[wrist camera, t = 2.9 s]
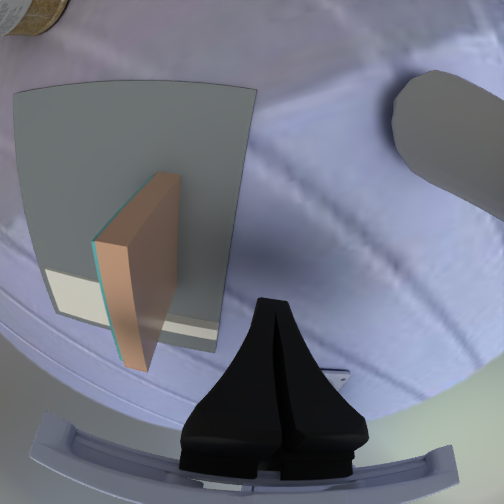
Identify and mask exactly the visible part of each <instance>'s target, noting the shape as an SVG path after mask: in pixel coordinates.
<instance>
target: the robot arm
mask: <svg viewBox="0 0 504 504" xmlns="http://www.w3.org/2000/svg"><path fill="white" fill-rule="evenodd" d="M349 377H350V372H347V371H327V370H321V369H320V368H319V366H318V365H317V363H316V361H315V360H314V358H313V356H312V355H311V353H310V351H309V349H308V347H307V345H306V343H305V341H304V339H303V337H302V335H301V333H300V331H299V329H298V327H297V324H296V322H295V319H294V317H293V314H292V312H291V309H290V306H289V303H288V302H287V301H282V300H275V299H269V298H262V297H260V298H258V299H257V303H256V307H255V311H254V315H253V318H252V322H251V327H250V329H249V332H248V334H247V336H246V338H245V340H244V342H243V344H242V346H241V348H240V349H239V351H238V353H237V355H236V356H235V358H234V359H233V361H232V363H231V364H230V365H229V367H228V368H227V370H226V371H225V373H224V374H223V375H222V377H221V378H220V379H219V381H218V382H217V383H216V384H215V385H214V387H213V388H212V389H211V390H210V391H209V393H208V394H207V395H206V396H205V397H204V398H203V399H202V400H201V401H200V402H199V403H198V404H197V405H196V407H195V409H194V410H193V412H192V413H191V415H190V416H189V418H188V419H187V421H186V423H185V425H184V427H183V429H182V434H181V440H180V443H181V449H182V451H181V456H180V460H177V459H172V458H167V457H163V456H159V455H155V454H151V453H147V452H144V451H140V450H136V449H133V448H130V447H126V446H122V445H120V444H116V443H114V442H111V441H108V440H105V439H102V438H99V437H97V436H94V435H91V434H89V433H86V432H84V431H81V430H79V429H77V428H76V427H75V426H74V425H73V424H72V423H71V422H69V421H68V420H66V419H63V418H61V417H59V416H57V415H55V414H53V413H51V412H48V411H45V412H44V414H43V417H42V420H41V422H40V425H39V427H38V430H37V433H36V435H35V438H34V441H33V444H32V447H31V450H30V453H29V457H30V458H31V459H33V460H35V461H36V462H38V463H40V464H42V465H43V466H45V467H47V468H49V469H51V470H53V471H55V472H57V473H59V474H61V475H63V476H65V477H67V478H69V479H71V480H74V481H76V482H78V483H80V484H83V485H85V486H87V487H90V488H92V489H95V490H97V491H100V492H103V493H105V494H108V495H111V496H114V497H117V498H120V499H123V500H126V501H129V502H133V503H136V504H405V503H408V502H412V501H415V500H418V499H421V498H424V497H427V496H430V495H432V494H435V493H438V492H441V491H443V490H446V489H448V488H450V487H453V486H455V485H457V484H459V477H458V471H457V466H456V461H455V457H454V452H453V447H452V445H447V446H444V447H441V448H437V449H435V450H432V451H431V452H428V453H427V454H426V455H423V456H419V457H415V458H411V459H406V460H402V461H396V462H391V463H386V464H380V465H373V466H366V467H358V468H356V467H355V466H354V465H352V460H353V459H354V457H355V455H354V451H355V450H356V449H358V448H360V447H361V446H363V445H364V444H365V443H366V442H367V441H368V439H369V435H368V429H367V425H366V421H365V418H364V417H363V416H362V415H360V414H359V413H358V412H357V411H356V410H355V409H354V408H353V407H352V406H350V405H349V403H348V402H347V401H346V400H345V399H344V398H343V397H342V396H341V395H340V394H339V393H338V391H339V390H340V388H341V387H342V386H343V385H344V384H345V382H346V381H347V380H348V379H349ZM188 478H190V479H188ZM192 479H196V480H203V481H209V482H217V483H224V484H235V485H242V488H241V491H227V490H216V489H206V488H203V483H202V482H200V481H196V480H192Z"/></svg>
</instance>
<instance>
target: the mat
mask: <svg viewBox="0 0 504 504" xmlns="http://www.w3.org/2000/svg"><path fill="white" fill-rule="evenodd" d="M256 92H257V90H254V89H248V88H241V87H234V86H226V85H217V84H207V83H196V82H181V81H155V80H128V81H103V82H89V83H78V84H69V85H61V86H54V87H47V88H41V89H35V90H30V91H24V92H20V93H15V94H13V122H14V140H15V152H16V161H17V170H18V177H19V184H20V190H21V195H22V201H23V206H24V211H25V216H26V220H27V224H28V229H29V233H30V237H31V240H32V244H33V248H34V251H35V255H36V258H37V261H38V265H39V268H40V271H41V274H42V277H43V280H44V283H45V286H46V289H47V291H48V294H49V297H50V299H51V302H52V305H53V307H54V310H55V312H56V313H57V314H60V315H62V316H65V317H69V318H72V319H75V320H78V321H81V322H84V323H88V324H91V325H94V326H98V327H101V328H105V329H108V330H111V328H110V326H107V325H104V324H100V323H97V322H93V321H90V320H87V319H83V318H80V317H77V316H74V315H70V314H67V313H64V312H61V311H59V308H58V306H57V303H56V301H55V298H54V295H53V292H52V290H51V287H50V284H49V281H48V278H47V275H46V272H45V268H46V267H49V268H53V269H56V270H60V271H64V272H68V273H72V274H76V275H80V276H84V277H88V278H92V279H96V280H98V275H97V270H96V265H95V260H94V254H93V249H92V243H91V241H92V240H93V239H94V237H95V236H96V235H97V234H98V233H99V232H100V230H101V229H102V228H103V227H104V226H105V225H106V224H107V222H108V221H109V220H110V219H111V218H112V217H113V216H114V215H115V214H116V213H117V211H118V210H119V209H120V208H121V207H122V206H123V205H124V204H125V203H126V202H127V201H128V200H129V199H130V198H131V197H132V196H133V195H134V194H135V192H136V191H137V190H138V189H139V188H140V187H141V186H142V185H143V184H144V183H145V182H146V181H147V180H148V179H149V178H150V177H151V176H155V175H156V174H157V173H158V172H163V173H172V174H179V175H181V183H180V199H179V219H178V248H177V288H176V291H175V294H174V296H173V299H172V302H171V305H170V307H169V310H168V313H170V314H175V315H180V316H186V317H191V318H196V319H202V320H207V321H213V322H219V321H220V314H221V307H222V300H223V293H224V286H225V279H226V272H227V265H228V258H229V252H230V245H231V239H232V232H233V226H234V219H235V213H236V207H237V201H238V195H239V188H240V182H241V176H242V170H243V165H244V159H245V153H246V147H247V141H248V136H249V130H250V124H251V119H252V113H253V108H254V102H255V97H256ZM218 328H219V327H218ZM217 336H218V334H217ZM158 342H160V343H165V344H170V345H174V346H179V347H184V348H189V349H195V350H200V351H206V352H211V353H215V351H216V343H217V340H211V339H206V338H200V337H195V336H189V335H184V334H179V333H174V332H169V331H165V330H161V333H160V336H159V339H158Z"/></svg>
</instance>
